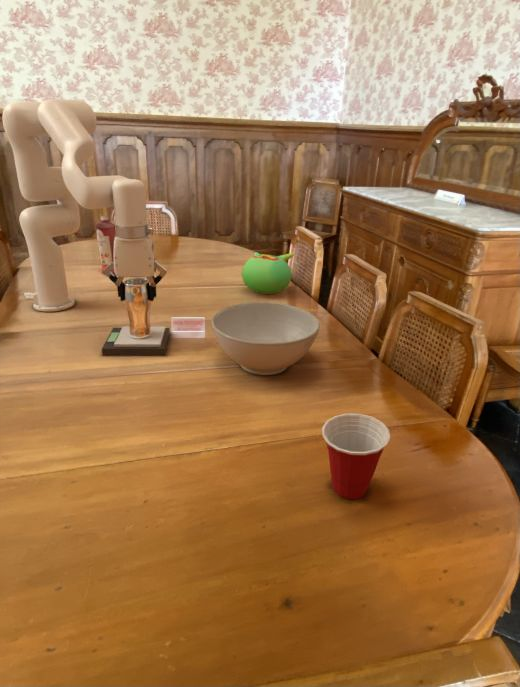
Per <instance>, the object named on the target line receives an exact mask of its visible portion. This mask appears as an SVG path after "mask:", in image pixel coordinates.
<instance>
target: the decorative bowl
mask: <svg viewBox="0 0 520 687" xmlns="http://www.w3.org/2000/svg"><path fill="white" fill-rule="evenodd" d="M210 324H211V329H212V332H213V335H214V337H215V339H216V341H217V343H218V345H219V346H220V348H221V350H222V351H223V352H224V353H225V354H226V355H227V357H228V358H230V359H231V360H232V361H234V362H235V363H236V364H238V365H240V367H241V368H242V369H243V370H244V371H245V372H248V373H250V374H254V375H260V376H272V375H278V374H280V373H282V372H284V371H285V370H287V369H288V367H290V366H292V365H294V364H295V363H296V362H298V361H299V360H300V359H302V358H303V357H304V356H305V355H306V354H307V353H308V351H309V350H310V349H311V348H312V346H313V345H314V342H316V339H317V336H318V335H319V332H320V327H321V323H320V321H319V319H318V317H317V316H316V315H314V314H313V313H311V312H310V311H308V310H305V309H303V308H301V307H298V306H294V305H290V304H286V303H278V302H269V301H268V302H267V301H251V302H243V303H237V304H233V305H229V306H227V307H224V308H222V309H220V310H218V311H217V312H216V313H214V314H213V316H212V317H211V321H210Z"/></svg>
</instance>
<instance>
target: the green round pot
mask: <svg viewBox="0 0 520 687" xmlns="http://www.w3.org/2000/svg"><path fill="white" fill-rule="evenodd" d="M294 256H295V253H294V252H293V253H292V252H291V253H287V254H286V253H285V254H280V255H273V254H263V253H262V254H260V253H259V252H255V253H254V255H253V257H250V258H249V259H248V260H247V261H246V262H245V263H244V264H243V267H242V270H241V278H242V281H243V283H244V285H245V286H246V287H247V288H248V289H250V290H251V291H253V292H255V293H258V294H263V295H274V294H278V293H281V292H283V291H284V290H286V289H287V288H288V286H289V285H290V284H291V283H290V282H291V280H292V270H291V267H290V265H289V263H288V262H287V261H288V260H289V259H291V258H293V257H294Z"/></svg>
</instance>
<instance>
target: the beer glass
mask: <svg viewBox="0 0 520 687" xmlns="http://www.w3.org/2000/svg"><path fill="white" fill-rule="evenodd" d="M122 282H123V283H124V301H123V302H124V306H125V310H126V313H127V317H128V321H129V326H130V329H129V336H130V337H132V338H138V339H140V338H146V337H149V336H151V334H152V330H151V327H150V326H151V321H150V320H151V308H152V301H150V291H149V287H150V283H149V281H148V279H147V278H146V277H129V278H127V279H125V280H123V281H122Z"/></svg>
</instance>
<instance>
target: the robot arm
mask: <svg viewBox="0 0 520 687" xmlns="http://www.w3.org/2000/svg"><path fill="white" fill-rule="evenodd" d="M1 116H2V120H1V121H2V125H3V130H4V132H5V135H6V139H7V140H8V142H9V144H10V147H11V150H12V154H13V159H14V165H15V170H16V176H17V182H18V187H19V191H20V193H21V196H22V198H23V199H24V200H26V201H28V202H33V203H34V202H35V203H38V202H49V201H56V203H54V204H44V205H43V204H41V205H35V206H30V207H27V208H25V209H23V210H22V211H21V213H20V214H19V218H18V219H19V220H18V221H19V225H20V228H21V231H22V233H23V236H24V239H25V243H26V245H27V251H28V254H29V255H28V256H29V260H30V266H31V272H32V277H33V278H32V279H33V283H34V284H33V285H34V289H35V291H34V292H24V293H23V298H24V299H25V301H33V303H32V306H33V309H34V310H36V311H39V312H44V313H45V312H47V313H49V312H50V313H51V312H58V311H65V310H69V309H70V308H71V307H73V306H74V305H75V304H76V302H75V299H74V298H73V297H71V296H70V295H69V289H68V288H69V287H68V282H67V276H66V268H65V262H64V255H63V251H62V248H61V247H60V246H59V245H58V243H57V242H55V241H54V239H53V238H56V237H60V236H66V235H73V234H76V233H77V232H78V231H79V229H80V227H81V216H80V215H81V214H80V207H79V206H81V207H82V208H84V209H86V210H90V211H91V210H101V209H102V208H107V209H108V208H113V209H114V210H113V211H114V219H115V220H114V221H115V231H116V236H115V239H114V261H113V262H112V263H111V264H110V265H108V266H107V267H106V268H105V269H104V270H103V272H104V273H103V272H102V273H103V274H104V275H105V276H106V277H107V278H108V279H109V280H110V281H111V282H112V283H113V284H114V285H115V287H116V288H117V297H118V298H119V299H120V302H124V283H123V282H124V279H125V278H145V279H148V281H149V284H150V287H149V291H150V301H151V302H154V300H155V298H157V294H158V293H157V285H158V284H159V283H160V282H161V281H162V280H163V278H164V277H166V275H167V273H168V269H167V268H166V267H164V266H163V265H161V264H160V263H159V262H157V260H156V253H155V247H154V242H153V239H152V236H151V235H150V234H154V230H155V229H154V227H151V226H149V224H148V216H147V202H146V200H147V199H146V187H145V184H144V182H143V181H141V180H140V179H137V178H135V179H134V178H128V177H125V176H123V175H118V174H117V175H116V174H115V175H99V176H98V175H97V176H86V175H85V174H84V172H83V171H82V170H81V168H80V166H82V165H84V164H85V163H86V162H88V161H89V160H90V159H91V158H92V157H93V155H94V154H95V152H96V142H95V140H94V139H93V137H92V136H91V135H92V134H93V133H94V132H95V131H96V128H97V125H98V120H97V116H96V113H95V111H94V109H93V107H91V106H90V104H89V103H87V102H86V101H83V100H79V99H64V98H49V99H46V100H44V101H42V102H39V101H14V102H10V103H8V104H7V105H5V107H4V108H3V110H2V115H1ZM36 137H49V138H50V139H51V140H52V142H53V143H54V144H55V146H56V147H57V149H58V150H59V151H60V153H61V154H62V155H63V156H62V160H61V166H49V164H48V158H47V153H46V150H45V148H44V146H43V145H42V144H41V142H40V140H38V139H37V138H36ZM113 268H114V272H115V274H113V273H112V272H111V270H112V269H113ZM157 271H158V272H159V273H158V274H157V275H156V276H155V272H157Z"/></svg>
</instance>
